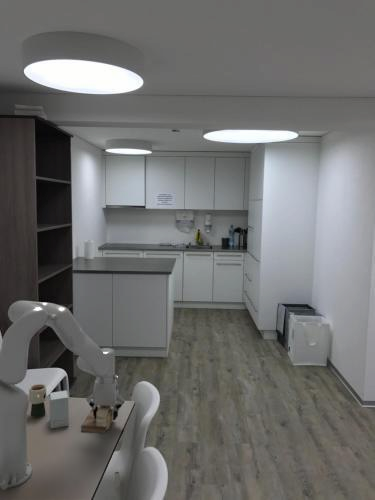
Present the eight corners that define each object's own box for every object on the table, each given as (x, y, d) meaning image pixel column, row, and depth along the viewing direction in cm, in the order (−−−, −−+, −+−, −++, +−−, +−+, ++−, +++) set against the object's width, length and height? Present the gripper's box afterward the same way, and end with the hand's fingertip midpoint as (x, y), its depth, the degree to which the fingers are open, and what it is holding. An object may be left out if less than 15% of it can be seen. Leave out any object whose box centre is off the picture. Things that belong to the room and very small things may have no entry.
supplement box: (68, 425, 167) (68, 397, 166) (50, 428, 164) (50, 400, 163) (67, 417, 174) (67, 389, 172) (49, 420, 171) (49, 392, 170)
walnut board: (104, 433, 162) (104, 427, 162) (81, 431, 163) (81, 425, 163) (119, 404, 186) (119, 399, 186) (99, 403, 187) (99, 398, 186)
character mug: (47, 419, 171) (47, 391, 170) (29, 422, 168) (29, 393, 167) (45, 408, 181) (45, 381, 180) (29, 410, 178) (28, 383, 177)
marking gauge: (108, 429, 162) (108, 412, 162) (96, 428, 163) (96, 411, 162) (114, 417, 171) (114, 402, 170) (102, 417, 172) (103, 401, 171)
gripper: (128, 375, 168) (127, 414, 170) (88, 373, 169) (88, 412, 171) (123, 383, 161) (123, 424, 162) (82, 380, 162) (82, 421, 164)
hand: (105, 417), depth 167 cm, fingers open, 7 cm apart
